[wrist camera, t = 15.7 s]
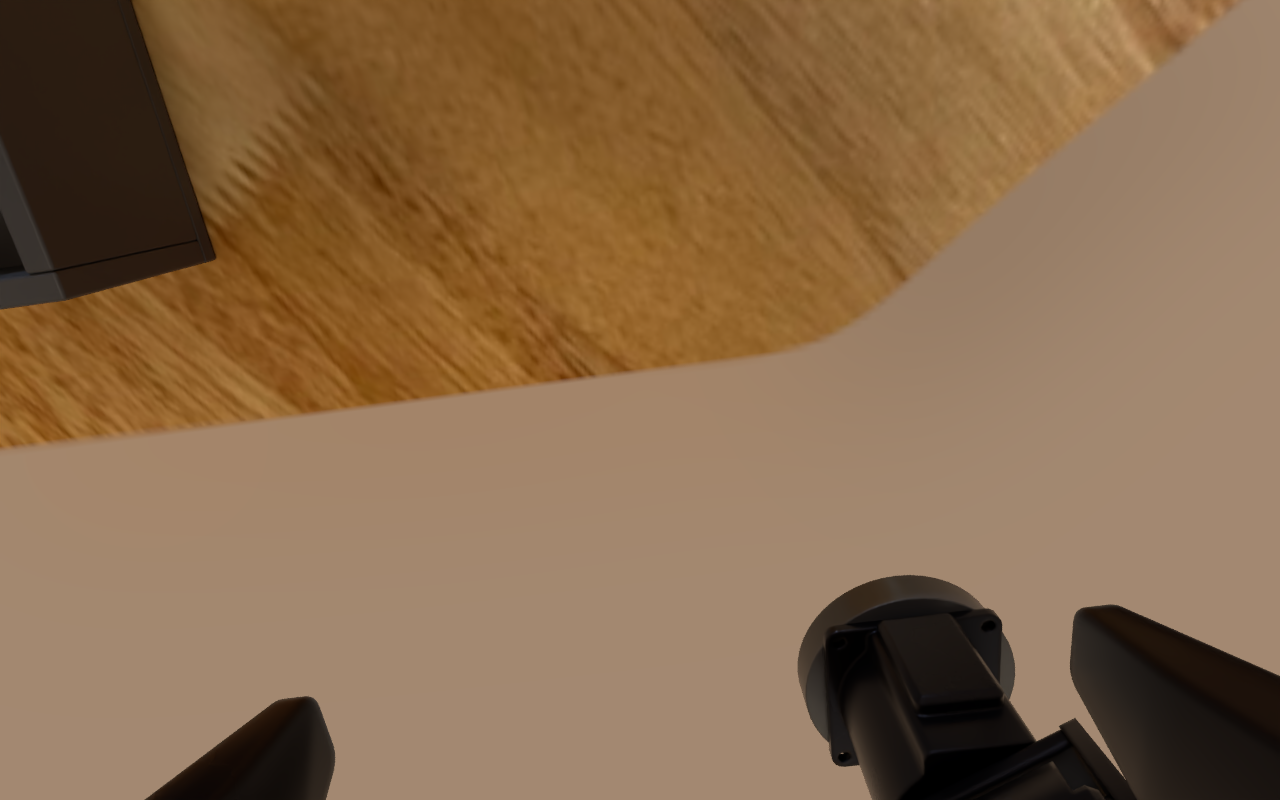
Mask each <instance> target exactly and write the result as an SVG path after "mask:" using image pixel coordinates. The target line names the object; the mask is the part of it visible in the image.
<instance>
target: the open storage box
mask: <svg viewBox="0 0 1280 800" xmlns="http://www.w3.org/2000/svg"><path fill="white" fill-rule="evenodd" d="M213 260H215V256H214V253H213V250H212V247H211V244H210V241H209V238H208V235H207V232H206V229H205V226H204V223H203V220H202V217H201V214H200V211H199V208H198V205H197V202H196V199H195V196H194V193H193V190H192V187H191V184H190V181H189V178H188V175H187V172H186V168H185V165H184V162H183V159H182V156H181V153H180V150H179V147H178V144H177V141H176V138H175V135H174V132H173V129H172V126H171V123H170V120H169V117H168V114H167V111H166V108H165V105H164V102H163V99H162V96H161V93H160V90H159V87H158V84H157V81H156V78H155V75H154V72H153V69H152V66H151V63H150V60H149V57H148V54H147V51H146V48H145V45H144V42H143V39H142V36H141V33H140V30H139V27H138V24H137V21H136V18H135V15H134V12H133V9H132V6H131V3H130V0H0V309H7V308H14V307H22V306H29V305H36V304H43V303H50V302H58V301H65V300H69V299H72V298H76V297H80V296H84V295H87V294H91V293H95V292H98V291H102V290H106V289H109V288H113V287H117V286H121V285H124V284H128V283H132V282H135V281H139V280H143V279H146V278H150V277H154V276H158V275H161V274H165V273H169V272H172V271H176V270H180V269H183V268H187V267H191V266H194V265H198V264H202V263H206V262H209V261H213Z"/></svg>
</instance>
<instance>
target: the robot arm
mask: <svg viewBox="0 0 1280 800" xmlns="http://www.w3.org/2000/svg"><path fill="white" fill-rule="evenodd" d="M986 621H990V622H989V623H988V624H986V625H982V624H983V623H984V622H986ZM836 638H842V639H841V640H840V641H838V642H833V640H834V639H836ZM1001 641H1002V622H1001V620H1000V619H999V617H998V616H997V614H996V613H995V612H994V611H993V610H991V609H985V608H983V609H975V610H966V611H957V612H948V613H940V614H931V615H922V616H913V617H904V618H896V619H887V620H878V621H869V622H861V623H852V624H843V625H835V626H831V627H829V628H828V629H826V631H825V632H824V634H823V651H824V668H825V685H826V701H827V718H828V735H829V750H830V754H831V756H832V760H833V762H834V763H835V764H836V765H838V766H844V767H846V766H855V765H860V767H861V770H862V773H863V775H864V778H865V781H866V784H867V787H868V789H869V792H870V795H871V798H872V800H1280V676H1279V675H1276V674H1274V673H1272V672H1269V671H1267V670H1265V669H1263V668H1260V667H1258V666H1256V665H1253V664H1251V663H1249V662H1246V661H1244V660H1242V659H1240V658H1237V657H1235V656H1233V655H1230V654H1228V653H1226V652H1224V651H1221V650H1219V649H1217V648H1215V647H1212V646H1210V645H1208V644H1205V643H1203V642H1201V641H1199V640H1196V639H1194V638H1192V637H1189V636H1187V635H1185V634H1183V633H1180V632H1178V631H1176V630H1174V629H1171V628H1169V627H1167V626H1164V625H1162V624H1160V623H1158V622H1155V621H1153V620H1151V619H1148V618H1146V617H1144V616H1142V615H1139V614H1137V613H1135V612H1132V611H1130V610H1128V609H1125V608H1123V607H1120V606H1118V605H1102V606H1094V607H1085V608H1081V609H1080V610H1078V611H1077V612H1076V614H1075V616H1074V621H1073V633H1072V646H1071V657H1070V658H1071V659H1070V670H1071V676H1072V680H1073V683H1074V685H1075V688H1076V689H1077V691H1078V693H1079V695H1080V697H1081V699H1082V701H1083V702H1084V704H1085V706H1086V708H1087V710H1088V712H1089V713H1090V715H1091V717H1092V719H1093V721H1094V722H1095V724H1096V726H1097V728H1098V730H1099V732H1100V733H1101V735H1102V737H1103V739H1104V741H1105V742H1106V744H1107V746H1108V748H1109V749H1110V752H1111V753H1112V755H1113V757H1114V759H1115V761H1116V762H1117V764H1118V766H1119V768H1120V770H1121V772H1122V773H1123V775H1124V777H1125V779H1126V780H1125V779H1124V777H1123V776H1122V775H1121V774H1120V773H1119V771H1118V770H1117V769H1116V767H1115V766H1114V765H1113V764H1112V763H1111V761H1110V760H1109V759H1108V758H1107V757H1106V755H1105V754H1104V753H1103V752H1102V750H1101V749H1100V748H1099V747H1098V745H1097V744H1096V743H1095V742H1094V741H1093V739H1092V738H1091V737H1090V736H1089V734H1088V733H1087V732H1086V731H1085V730H1084V728H1083V727H1082V726H1081V725H1080V723H1079V722H1078V721H1077V720H1076V719H1075V718H1074V719H1072V720H1070V721H1068V722H1066V723H1064V724H1062V725H1060V726H1059V727H1060V729H1061V730H1059V731H1057V732H1055V733H1053V734H1051V735H1049V736H1047V737H1045V738H1043V739H1041V740H1039V741H1036V740H1035V738H1034V737H1033V735H1032V734H1031V732H1030V731H1029V729H1028V728H1027V726H1026V725H1025V723H1024V722H1023V720H1022V719H1021V717H1020V716H1019V714H1018V713H1017V711H1016V710H1015V708H1014V707H1013V705H1012V704H1011V702H1010V701H1009V699H1008V698H1007V696H1006V695H1005V693H1004V691H1003V689H1002V687H1001V686H1000V665H1001ZM842 752H846V753H844V754H840V753H842ZM334 766H335V751H334V746H333V743H332V740H331V737H330V735H329V732H328V729H327V726H326V724H325V721H324V718H323V715H322V712H321V710H320V707H319V705H318V703H317V701H316V700H315V699H314V698H312V697H307V696H305V697H296V698H288V699H282V700H278V701H276V702H274V703H273V704H271V705H270V706H269V707H267V708H266V709H265V710H263V711H262V712H261V713H259V714H258V715H257V716H255V717H254V718H253V719H251V720H250V721H249V722H247V723H246V724H245V725H243V726H242V727H241V728H239V729H238V730H237V731H236V732H234V733H233V734H232V735H230V736H229V737H227V738H226V739H225V740H224V741H222V742H221V743H219V744H218V745H217V746H216V747H214V748H213V749H212V750H210V751H209V752H208V753H206V754H205V755H204V756H203V757H201V758H200V759H198V760H197V761H196V762H195V763H193V764H192V765H190V766H189V767H188V768H186V769H185V770H184V771H182V772H181V773H180V774H178V775H177V776H176V777H175V778H173V779H172V780H170V781H169V782H168V783H166V784H165V785H164V786H163V787H161V788H160V789H158V790H157V791H156V792H154V793H153V794H152V795H151V796H149V797H148V798H146V799H145V800H326V797H327V793H328V790H329V786H330V782H331V779H332V775H333V771H334Z"/></svg>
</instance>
